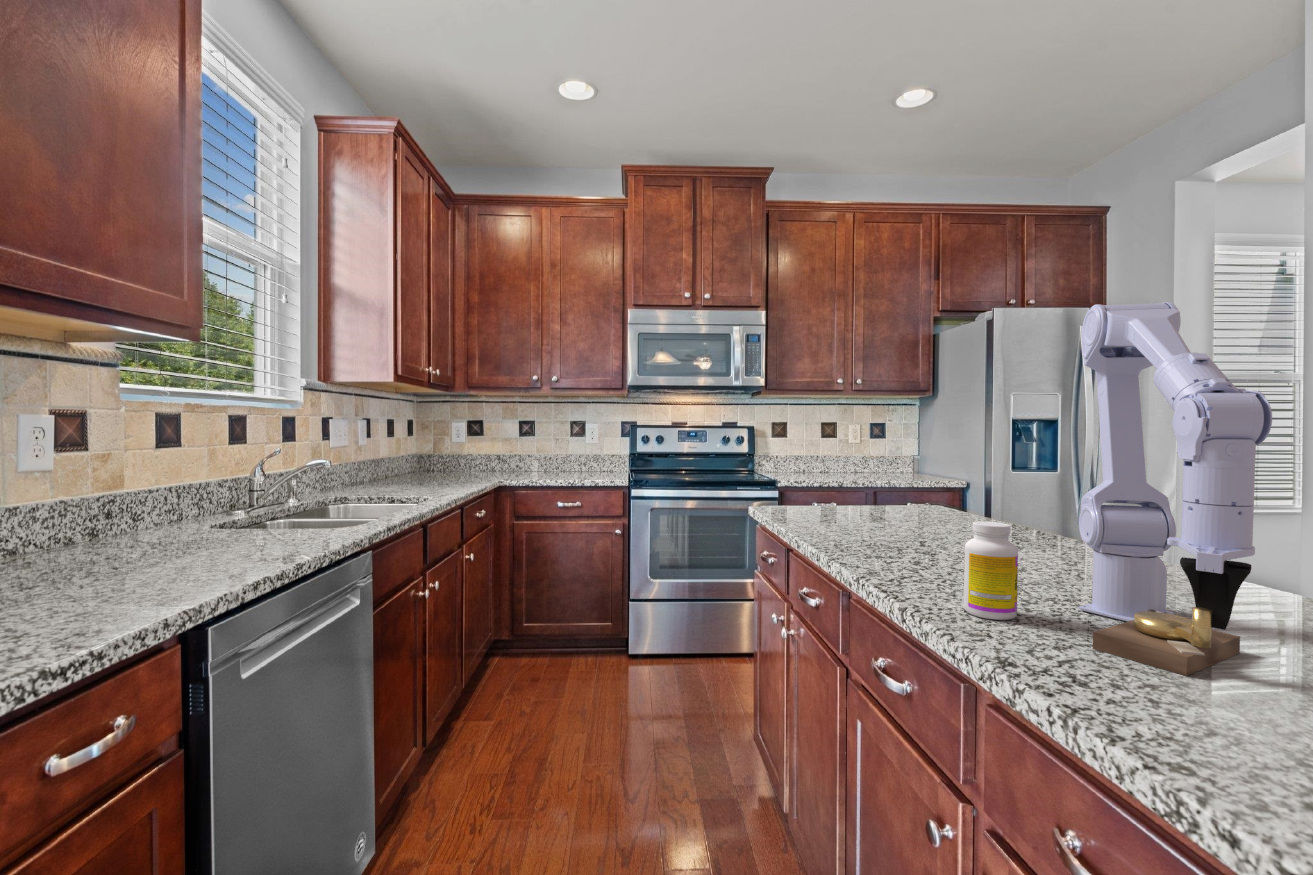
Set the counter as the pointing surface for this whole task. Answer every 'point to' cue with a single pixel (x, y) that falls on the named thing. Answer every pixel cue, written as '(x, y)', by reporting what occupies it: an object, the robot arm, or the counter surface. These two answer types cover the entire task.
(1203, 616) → the gold door handle
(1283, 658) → the counter surface
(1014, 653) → the counter surface
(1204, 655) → the stand
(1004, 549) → the supplement bottle
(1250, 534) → the robot arm
